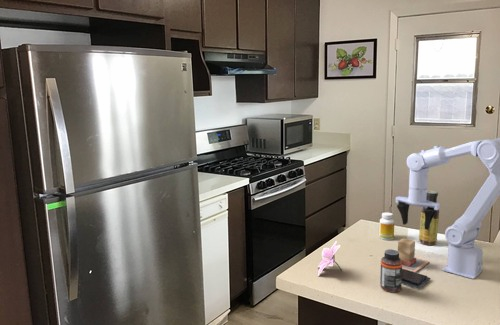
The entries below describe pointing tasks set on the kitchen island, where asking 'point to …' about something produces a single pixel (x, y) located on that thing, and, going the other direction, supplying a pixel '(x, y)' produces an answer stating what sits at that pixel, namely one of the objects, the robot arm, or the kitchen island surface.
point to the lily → (328, 257)
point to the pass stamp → (407, 252)
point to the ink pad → (414, 279)
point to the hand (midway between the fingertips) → (415, 226)
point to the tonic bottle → (430, 234)
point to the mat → (416, 265)
